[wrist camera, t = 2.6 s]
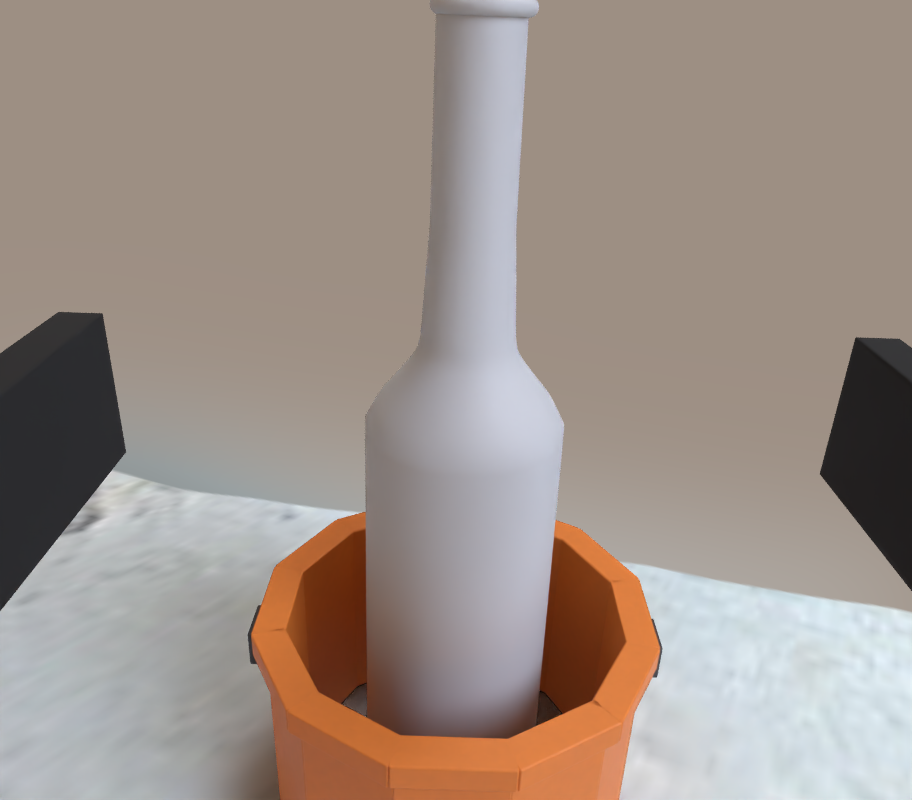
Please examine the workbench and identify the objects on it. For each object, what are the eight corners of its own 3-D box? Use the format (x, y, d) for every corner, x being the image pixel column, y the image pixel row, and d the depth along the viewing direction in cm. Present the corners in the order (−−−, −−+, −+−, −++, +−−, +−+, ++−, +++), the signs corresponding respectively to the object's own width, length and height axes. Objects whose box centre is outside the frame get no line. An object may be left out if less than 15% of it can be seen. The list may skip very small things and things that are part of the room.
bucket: (218, 944, 26) (189, 760, 22) (299, 642, 38) (289, 492, 35) (671, 958, 26) (717, 778, 22) (604, 652, 39) (626, 504, 35)
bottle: (564, 791, 31) (672, 1, 19) (423, 879, 28) (446, -12, 16) (469, 684, 36) (507, 0, 24) (339, 749, 33) (307, -11, 21)
